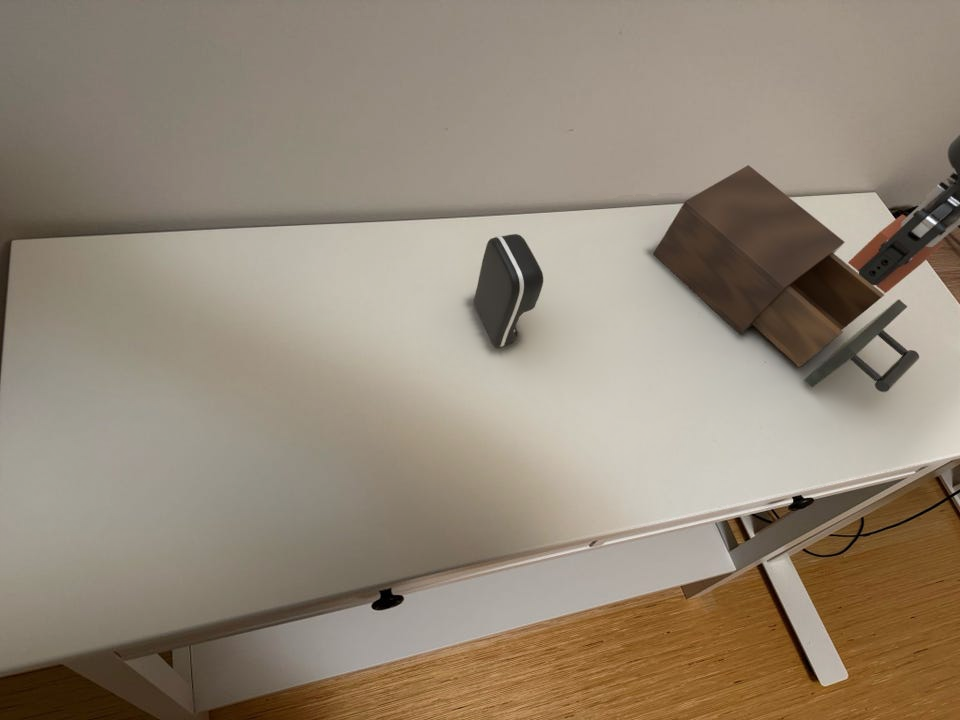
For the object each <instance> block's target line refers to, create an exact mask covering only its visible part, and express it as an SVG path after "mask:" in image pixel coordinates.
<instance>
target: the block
mask: <svg viewBox="0 0 960 720" xmlns="http://www.w3.org/2000/svg"><path fill="white" fill-rule="evenodd" d="M906 217H907V215H904V214H901V215H900V216H898V217H897V218H895V219H894V220H893V221H891V222H890V223H889V224H888V225H887V226H885V227H884V228H883V229H882V230H881V231H879V232H878V233H877V234H876V235H875V236H874V237H873V238H872V239H871V240H870V241H869V242H867V244H865V245H864V246H863V247H862V248H861V249H860V250H859V251H857V253H856V254H855V255H853V257H852V258H851V259H849V261H848V262H847V264H848V265H849V266H850V267H852V268H853V269H854V270H855V271H857V272H859V270H860V269H861V268H862V267H863V266H864V265H865V264H866V263H867V262H868V261H869V260H871V259H872V258H873V257H874V256H875V255H876V254H877V253H878V252H879V250H878V249H879V248H881V246H880V245H881V244H883V243H884V242H886V241H887V240H888V239H890V238H891V237H892V236H893V235H894V234H895V233H896V232H897V231H899V230H900V229H901V222H902V221H903V220H904V219H905V218H906ZM943 245H944V244H943V243H942V242H941V241H939V242H938V243H937V244H936V245H935V246H933V247H924V248H922V249H921V250H920V251H919V252H918V253H916V254H915V255H914V256H913V257H912V258H913V259H912V260H911V261H910V262H908V263H907V264H906V265H904V264H903V265H902V266H901V267H898V268H897V269H896V270H894V271H893V272H892V273H891V274H890V275H888V276H887V277H886V278H885V279H884V280H883V281H881V282H880V283H879V284H878V285H875V287H876V288H877V289H879V290H880V291H881V292H882V293H884V294H886V293H888V292H889V291H890V290H891V289H893V288H894V287H896V286H897V285H898V284H899V283H900V282H901V281H902V280H904V279H905V278H906V277H907V276H908V275H910V274H911V273H912V272H913V271H915V270H916V269H917V268H918V267H920V266H921V265H922V264H923V263H924V262H925V261H927V259H929V258H930V257H931V256H932V255H933V254H934V253H936V251H938V250H939V249H940V248H941V247H942V246H943Z"/></svg>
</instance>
